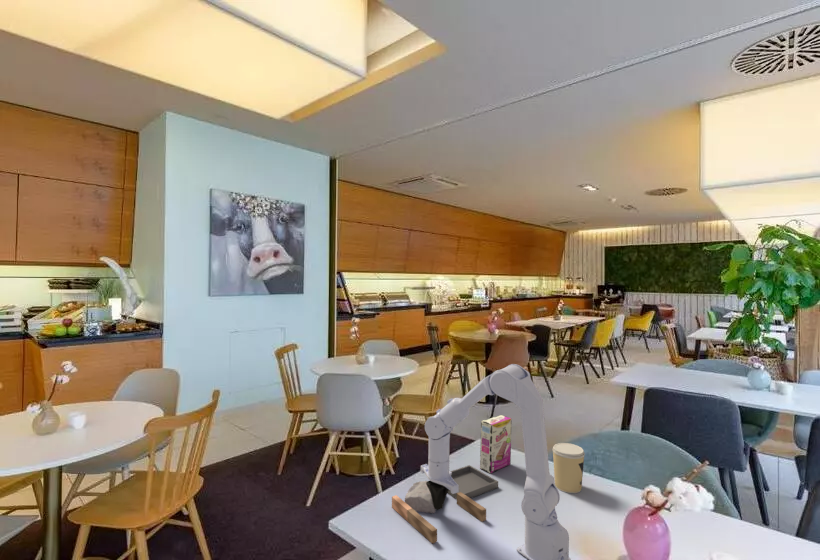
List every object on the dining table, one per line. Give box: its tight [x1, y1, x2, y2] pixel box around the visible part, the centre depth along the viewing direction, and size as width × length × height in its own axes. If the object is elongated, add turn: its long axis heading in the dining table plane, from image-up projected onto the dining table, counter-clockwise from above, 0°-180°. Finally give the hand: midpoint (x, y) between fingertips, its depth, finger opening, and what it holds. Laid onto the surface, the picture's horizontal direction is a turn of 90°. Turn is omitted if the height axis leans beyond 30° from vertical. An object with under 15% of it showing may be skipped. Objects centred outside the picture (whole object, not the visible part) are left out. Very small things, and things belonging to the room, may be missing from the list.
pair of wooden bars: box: [391, 492, 487, 544], centre depth 113 cm, size 19×18×3 cm
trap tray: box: [447, 464, 499, 500], centre depth 129 cm, size 13×15×2 cm
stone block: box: [404, 480, 437, 514], centre depth 120 cm, size 12×5×10 cm
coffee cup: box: [552, 442, 585, 494], centre depth 128 cm, size 9×9×12 cm
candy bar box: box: [479, 414, 513, 474], centre depth 142 cm, size 11×5×16 cm, turn 130°
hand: (438, 508), depth 113 cm, fingers closed
